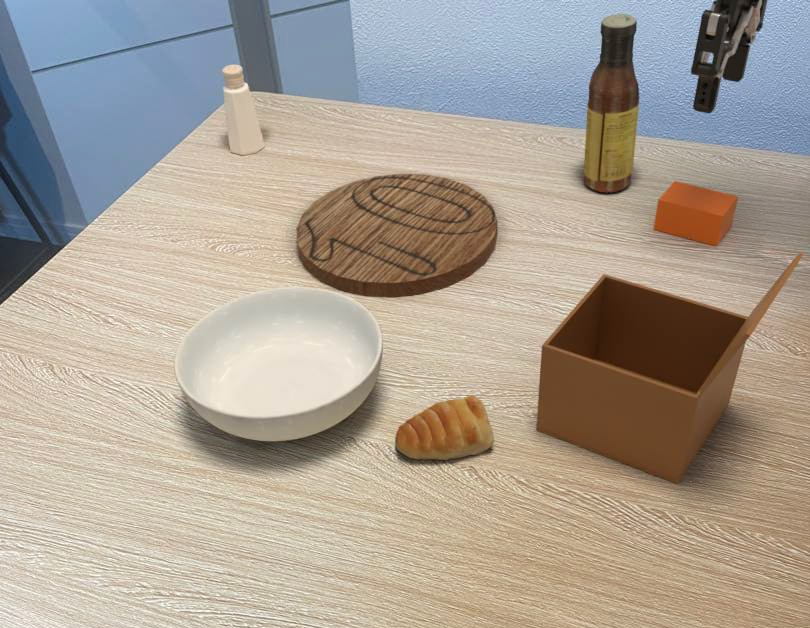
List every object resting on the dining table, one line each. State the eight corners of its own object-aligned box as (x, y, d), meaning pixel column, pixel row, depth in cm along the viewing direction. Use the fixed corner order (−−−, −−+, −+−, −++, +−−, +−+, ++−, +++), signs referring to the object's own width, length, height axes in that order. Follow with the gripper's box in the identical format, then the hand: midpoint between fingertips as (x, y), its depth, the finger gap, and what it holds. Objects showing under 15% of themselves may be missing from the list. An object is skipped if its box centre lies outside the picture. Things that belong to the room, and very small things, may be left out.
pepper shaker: (224, 155, 132) (207, 76, 123) (234, 137, 135) (218, 59, 127) (260, 156, 131) (245, 76, 122) (270, 138, 134) (256, 59, 126)
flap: (752, 310, 83) (756, 313, 83) (698, 390, 76) (702, 393, 76) (800, 251, 77) (804, 254, 77) (745, 333, 70) (750, 335, 70)
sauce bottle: (638, 177, 121) (661, 14, 106) (618, 199, 117) (639, 34, 102) (592, 166, 123) (608, 6, 108) (572, 188, 120) (585, 25, 105)
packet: (731, 226, 112) (738, 196, 109) (716, 246, 109) (722, 215, 106) (669, 210, 115) (674, 180, 112) (653, 229, 112) (658, 199, 109)
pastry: (408, 476, 87) (405, 447, 85) (386, 432, 92) (383, 403, 89) (499, 451, 89) (499, 421, 86) (474, 408, 93) (474, 379, 90)
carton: (728, 404, 91) (752, 317, 83) (677, 484, 85) (698, 398, 77) (593, 358, 97) (603, 273, 89) (536, 430, 91) (541, 345, 83)
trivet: (432, 319, 103) (431, 305, 102) (258, 263, 113) (255, 250, 111) (532, 213, 116) (532, 199, 115) (368, 171, 126) (367, 158, 125)
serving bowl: (299, 314, 105) (290, 262, 100) (429, 393, 95) (426, 339, 90) (150, 404, 97) (131, 352, 91) (274, 502, 86) (261, 449, 81)
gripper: (766, -48, 83) (727, 129, 95) (815, -94, 90) (773, 76, 102) (687, -59, 86) (659, 114, 98) (741, -103, 93) (709, 63, 105)
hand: (718, 94), depth 100 cm, fingers open, 8 cm apart
